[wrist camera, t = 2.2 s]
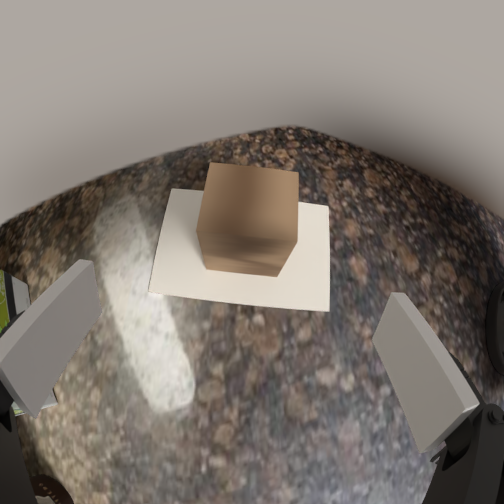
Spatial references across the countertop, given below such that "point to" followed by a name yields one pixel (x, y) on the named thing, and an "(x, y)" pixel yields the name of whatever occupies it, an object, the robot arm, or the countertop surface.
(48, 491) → the coffee mug
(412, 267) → the countertop surface
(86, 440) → the countertop surface
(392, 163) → the countertop surface
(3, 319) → the tea box
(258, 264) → the walnut block
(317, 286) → the tile
